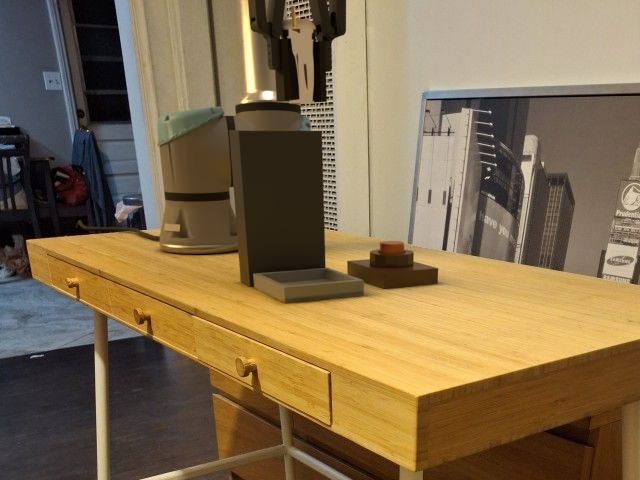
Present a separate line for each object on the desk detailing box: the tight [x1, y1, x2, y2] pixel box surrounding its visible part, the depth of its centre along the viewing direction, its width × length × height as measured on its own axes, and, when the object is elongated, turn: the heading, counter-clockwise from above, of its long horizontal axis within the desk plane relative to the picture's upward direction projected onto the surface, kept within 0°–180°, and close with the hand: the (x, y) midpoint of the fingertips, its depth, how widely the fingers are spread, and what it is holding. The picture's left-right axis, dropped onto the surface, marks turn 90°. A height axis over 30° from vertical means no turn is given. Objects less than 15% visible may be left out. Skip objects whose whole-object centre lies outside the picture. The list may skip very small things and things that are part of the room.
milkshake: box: [280, 5, 317, 105], centre depth 93 cm, size 4×5×10 cm
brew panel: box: [346, 248, 439, 290], centre depth 113 cm, size 12×9×4 cm
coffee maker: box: [229, 130, 365, 304], centre depth 103 cm, size 17×12×20 cm
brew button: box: [379, 240, 405, 254], centre depth 112 cm, size 4×4×2 cm
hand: (301, 101), depth 95 cm, fingers closed on milkshake, 4 cm apart
